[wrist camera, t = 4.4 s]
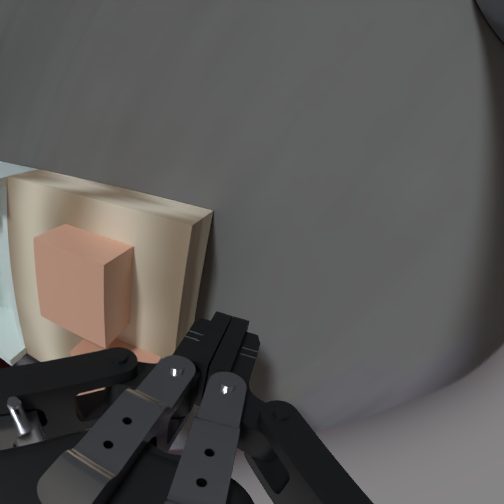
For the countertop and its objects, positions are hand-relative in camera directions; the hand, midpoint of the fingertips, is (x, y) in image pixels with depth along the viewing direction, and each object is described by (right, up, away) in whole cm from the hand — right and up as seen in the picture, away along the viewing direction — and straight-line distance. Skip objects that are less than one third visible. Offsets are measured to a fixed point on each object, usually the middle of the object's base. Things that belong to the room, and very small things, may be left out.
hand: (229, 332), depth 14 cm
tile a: (-7, +2, +2) cm, 8 cm away
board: (-9, +1, +6) cm, 10 cm away
